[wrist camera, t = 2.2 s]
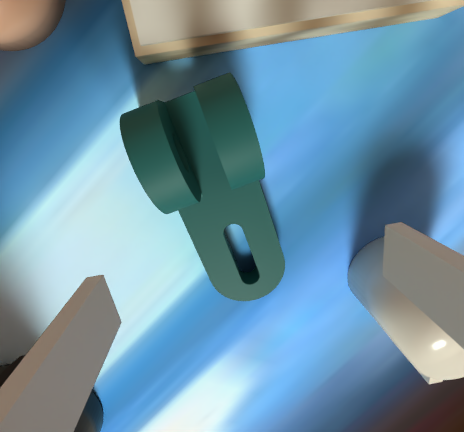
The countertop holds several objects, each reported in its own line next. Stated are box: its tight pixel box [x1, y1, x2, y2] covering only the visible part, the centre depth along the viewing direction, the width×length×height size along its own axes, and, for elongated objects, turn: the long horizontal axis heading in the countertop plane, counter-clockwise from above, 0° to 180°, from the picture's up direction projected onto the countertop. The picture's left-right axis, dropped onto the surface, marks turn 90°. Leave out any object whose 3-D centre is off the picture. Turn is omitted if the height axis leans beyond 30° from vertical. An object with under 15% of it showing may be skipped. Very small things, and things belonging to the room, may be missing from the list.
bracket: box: [120, 73, 285, 301], centre depth 20 cm, size 18×7×8 cm, turn 20°
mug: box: [348, 236, 464, 384], centre depth 23 cm, size 8×11×9 cm
